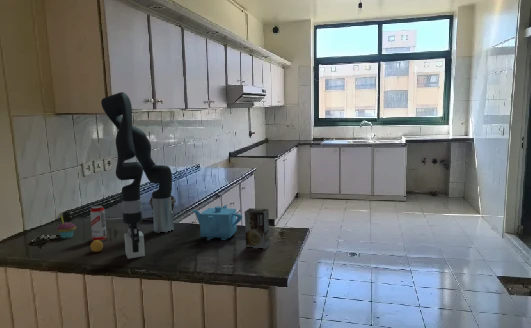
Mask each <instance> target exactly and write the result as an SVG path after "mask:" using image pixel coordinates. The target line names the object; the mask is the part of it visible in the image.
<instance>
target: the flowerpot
mask: <svg viewBox="0 0 531 328" xmlns="http://www.w3.org/2000/svg"><path fill="white" fill-rule="evenodd" d="M148 202H149V205H150V206H151V207H150V208H151V210H152V211H153V204H152V196H151V197H150V199H149V201H148ZM175 203H176V198H175V197H174V196H173V195H171V206H172V212H173V215H174V213H175V212H174V207H175ZM152 215H153V212H152Z"/></svg>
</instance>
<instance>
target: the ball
mask: <svg viewBox="0 0 531 328" xmlns="http://www.w3.org/2000/svg"><path fill="white" fill-rule="evenodd" d="M103 247H104V243H103V241H100V240H95V241H94V240H92V242H91V243H90V249H91V251H93V252H94V253H97V252H101V251H102V249H103Z"/></svg>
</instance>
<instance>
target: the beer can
mask: <svg viewBox="0 0 531 328" xmlns="http://www.w3.org/2000/svg"><path fill="white" fill-rule="evenodd" d="M89 212H90V214H89V215H90V223H91V227H90V228H91V239H92V241H95V240H100V241H101V242H104V241H105V240H106V239H107V226H106V225H107V224H106V215H105V214H106V213H105V212H106V211H105V208H104V206H103V205H94V206H91V209H90V211H89Z"/></svg>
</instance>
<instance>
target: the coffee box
mask: <svg viewBox="0 0 531 328" xmlns="http://www.w3.org/2000/svg"><path fill="white" fill-rule="evenodd" d="M269 217H270V215H269V208H254V207H253V208H251V207H249V208H247V210H245V211H244V226H245V231H244V232H245V248H246V247H253V248H252V249H258V248H263V249H262V250H265V249H267V248H268V247H269V246H270V219H269Z"/></svg>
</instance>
